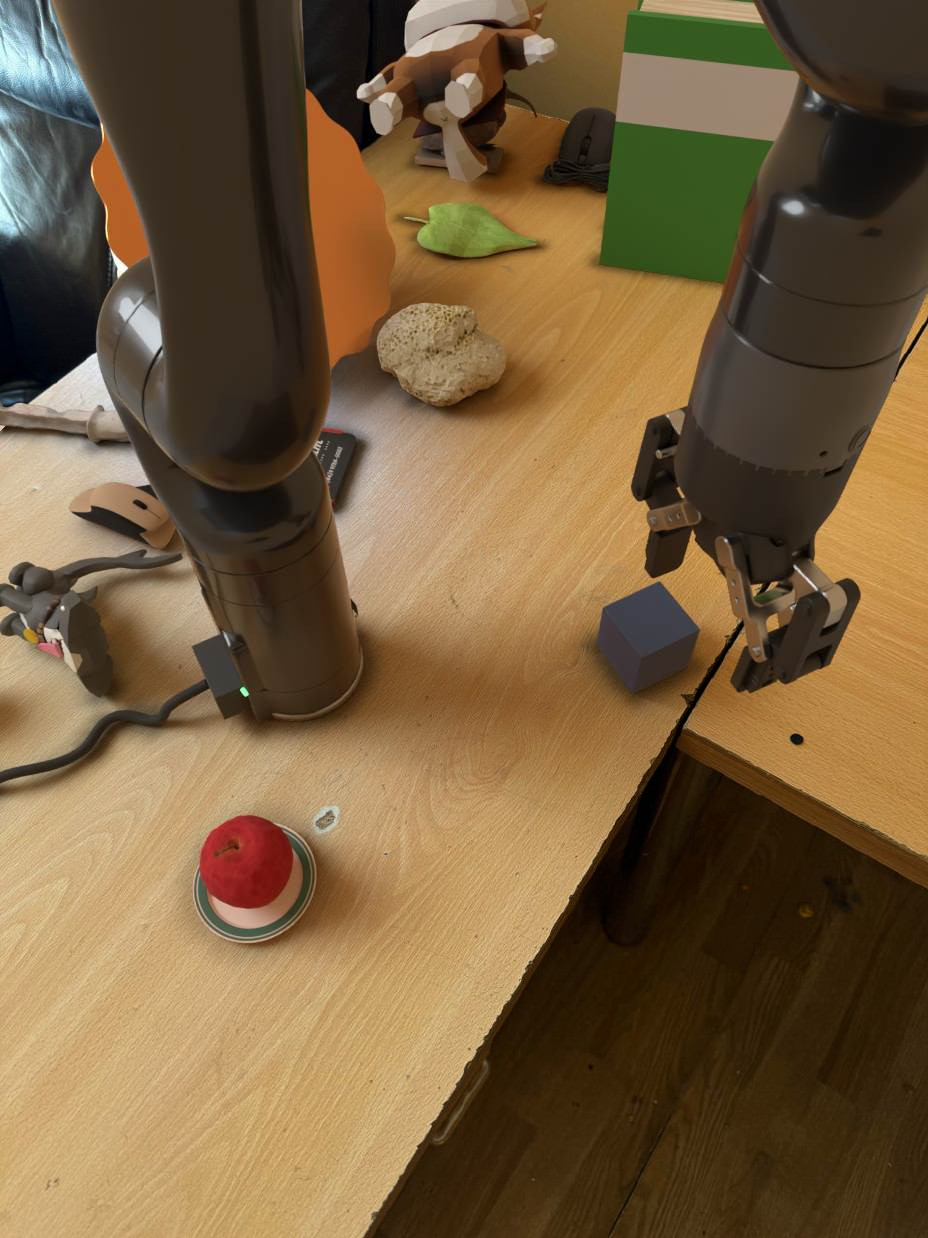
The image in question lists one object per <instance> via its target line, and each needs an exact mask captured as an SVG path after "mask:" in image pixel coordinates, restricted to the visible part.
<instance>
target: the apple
mask: <svg viewBox="0 0 928 1238" xmlns="http://www.w3.org/2000/svg"><path fill="white" fill-rule="evenodd" d="M317 873H318V871H317V864H316V859H315V857H314V854H313V851H312V849H311V847H310V846H309V844H308V843H307V842H306V840H305V839H304V838H303V837H302V836H301V835H300V834H299V833H297V832H296V831H294V830H293V829H291V828H290V827H287V826H285V825H284V824H279V823H277V822H276V823H275V822H272V821H271V820H269V819H267V818H264V817H262V816H257V815H254V814H253V815H252V814H244V815H237V816H234V817H233V818H230V819H228V820H226V821H224V822H223V823H221V824H219V825H218V826H217V827H216V828H213V829H212V830H211V831H210V832H209V834H208V835H207V837H206V839H205V841H204V843H203V845H202V847H201V851H200V856H199V862H198V864H197V866H196V870H195V871H194V875H193V881H192V899H193V905H194V908H195V911H196V913H197V915H198V918H199V919H200V920H201V922H202V923H203V925H204V926H206V928H207V929H208V930H209V931H211V932H212V933H213V934H215V935H216V936H217V937H220V938H222V939H224V940H227V941H230V942H233V943H239V944H253V943H261V942H266V941H268V940H271V939H273V938H276V937H277V936H279V935H281V934H282V933H284V932H286V931H287V930H289V929H290V928H291V927H292V926H293V925H295V924H296V923H297V922H298V920H300V919H301V918H302V916H303V915H304V914H305V912H306V910H307V909H308V907H309V906H310V904H311V901H312V899H313V897H314V893H315V890H316V886H317V876H318V875H317Z"/></svg>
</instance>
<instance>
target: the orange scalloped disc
mask: <svg viewBox="0 0 928 1238" xmlns="http://www.w3.org/2000/svg"><path fill="white" fill-rule="evenodd" d="M306 109H307V130H308V168H309V194H310V207H311V218H312V227H313V235H314V244H315V252H316V259H317V267H318V274H319V281H320V288H321V296H322V303H323V310H324V317H325V325H326V332H327V339H328V346H329V355H330V365H331V371H332V370H333V369H334V368H335V366H336V365H337V363H338V362H339V361H340V360H341V359H343V358H344V357H348V356H353V355H358V354H360V353H362V352H364V351H365V350H366V349H367V347H368V346H369V345H370V342H371V339H372V333H373V329H374V326H375V324H376V323H377V322H378V320H380V319H381V318H382V317H384V316H385V315H386V314H387V312H388V311H389V309H390V307H391V302H392V294H391V293H392V292H391V286H390V276H391V272H392V270H393V267H394V265H395V262H396V257H397V252H396V251H397V250H396V245H395V242H394V239H393V237H392V235H391V233H390V231H389V229H388V226H387V222H386V200H385V196H384V193H383V191H382V189H381V186H380V185H379V183H378V182H377V181H376V180H375V179H374V177H373V176H372V175H371V174H370V173H369V171H368V170H367V168H366V166H365V165H364V162H363V158H362V156H361V152H360V149H359V146H358V144H357V142H356V140H355V139H354V137H353V136H352V135H351V133H350V132H349V131H348V130H347V129H345V128H344V127H343V126H341V125H340V124H338V123H337V122H335V121H334V120H333V119H331V118H330V117H329V115H327V112H325V110H324V109H323V107H322V106H321V104H320V102H319V101H318V99H317V98H316V97H315V95H314V94H313V93H312V92H311V91H310V90H309V89H308V88H306ZM99 125H100V131H101V144H100V146H99V149H98V150H97V152H96V153H95V156H94V158H93V159H92V162H91V165H90V176H91V180H92V181H91V182H92V183H93V184H92V185H93V186H94V188H95V190H96V192H97V194H98V195H99V197H100V200H101V202H102V203H103V206H104V210H105V211H104V212H105V223H104V225H105V226H104V229H105V230H104V231H105V232H104V233H105V238H106V241H107V244H108V247H109V248H110V251H111V255H112V259H113V262H114V263H115V266H116V268H117V270H116V276H117V279H118V278H119V277H120V276H121V275H122V274H123V273H124V272H125V271H126V270H127V269H128V268H129V267H130V266H132V265H133V264H134V263H135V262H137V261H139V260H140V259H142V258H144V257H146V256H148V255H149V250H148V246H147V242H146V238H145V234H144V231H143V227H142V223H141V220H140V217H139V214H138V211H137V209H136V206H135V203H134V200H133V197H132V194H131V192H130V189H129V187H128V185H127V182H126V180H125V177H124V175H123V173H122V170H121V168H120V166H119V163H118V161H117V159H116V156H115V154H114V152H113V149H112V147H111V145H110V143H109V140H108V138H107V136H106V133H105V131H104V129H103V127H102V124H101V122H100V121H99Z"/></svg>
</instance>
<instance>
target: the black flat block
mask: <svg viewBox="0 0 928 1238" xmlns="http://www.w3.org/2000/svg"><path fill="white" fill-rule="evenodd" d="M357 448H358V442H357V438H356V435H355V434H353V433H350V432H345V431H343V430H342V429H336V428H335V429H334V428H327V427H323V428H322V431H321V433H320V436H319V438H318V440H317V442H316V444H315V446H314V447H313V451H314V452H315V454H316V456H317V457H318V459H319V461H320V463H321V465H322V467H323V470H324V473H325V476H326V479H327V483H328V488H329V493H330V498H331V503H332V508H333V509H334V508H335V507H336V504H337V502H338V498H339V496H340V493H341V491H342V488H343V486H344V482H345V480H346V477H347V475H348V472H349V469H350V467H351V464H352V461H353V458H354V456H355V453H356V451H357Z"/></svg>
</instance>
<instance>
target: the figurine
mask: <svg viewBox="0 0 928 1238" xmlns="http://www.w3.org/2000/svg"><path fill="white" fill-rule="evenodd" d="M506 100H515V101H520V102H522V103H524V104H526V105H527V106H528V107H529V108H530V109H531V110H532V113H533V115H534V117H535V119H537V118H538V114H537V111H536V109H535V107H534V106H533V104H532V103H531V101H529V100H528V99H527V98H526V97H524V96H522V95H521V94H518V93H517V92H514V91H512V90H510V89H509V88H508V87H507V94H506ZM506 120H507V112H506V110H505V108H504V111H503V114H502V117H501V120H497V121H492V122H488V123H483V124H479V125H474V126H469V127H465V128H462V129H463V132H464V134H465V136H466V138H467V139H468V141H469V142H470V143H471V144H472V145H473V146H474V147H475V148H476V149H477V150H478V151H479V152H481V153H482V154H483V155H484V156H485V157H486V161H487V170H486V171H485V172H484V173H492V174H496V173H497V171H498V170H499V167H500V164H501V161H502V159H503V156H504V153H505V147H504V146H503V147H502V146H497V144H496V143H492V142H491V143H489V142H490V141H492V140H493V139H494V138H495V137H496V136H497V134H498V133H499V131H500V129H501V128H502V127H503V126H504V125H505V123H506ZM419 139H420V147H419V150H418V151H417V153H416V154H415V157H414V163H415V164H416V165H424V166H425V165H426V166H432V167H433V166H434V167H442V168H447V164H446V158H445V152H444V143H443V136H442V133H437V134H433V135H428V136H423V137H419Z"/></svg>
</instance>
